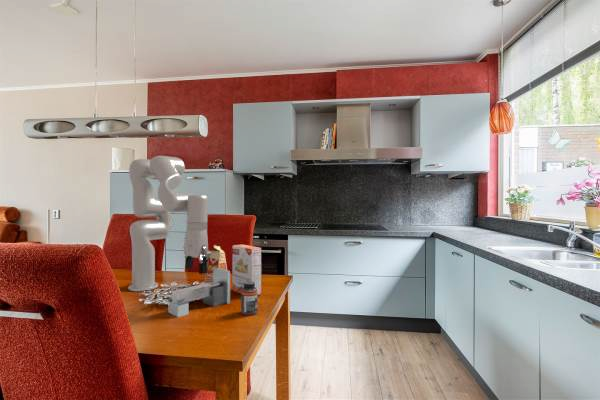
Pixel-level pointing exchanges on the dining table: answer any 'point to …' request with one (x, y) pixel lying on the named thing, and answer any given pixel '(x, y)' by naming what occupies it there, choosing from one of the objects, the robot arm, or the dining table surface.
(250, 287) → the supplement bottle
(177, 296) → the rail
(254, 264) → the cracker box
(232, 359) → the dining table surface
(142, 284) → the robot arm
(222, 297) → the cup bracket
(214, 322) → the dining table surface
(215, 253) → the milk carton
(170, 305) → the block
